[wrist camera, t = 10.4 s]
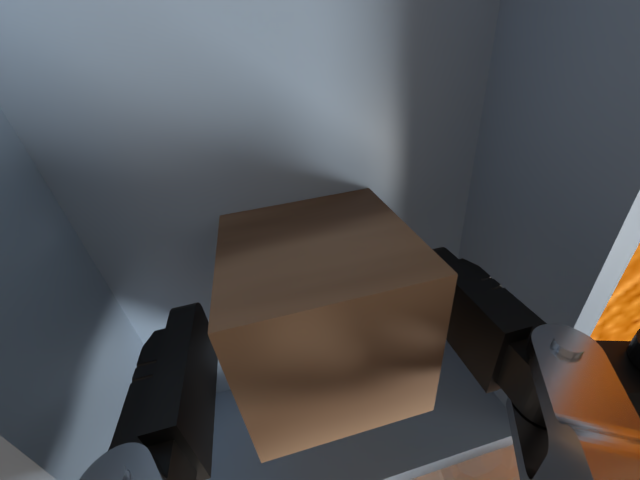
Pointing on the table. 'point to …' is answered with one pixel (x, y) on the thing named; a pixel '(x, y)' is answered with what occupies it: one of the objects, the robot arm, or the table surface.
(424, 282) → the cube
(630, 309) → the table surface
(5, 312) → the tote
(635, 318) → the table surface
